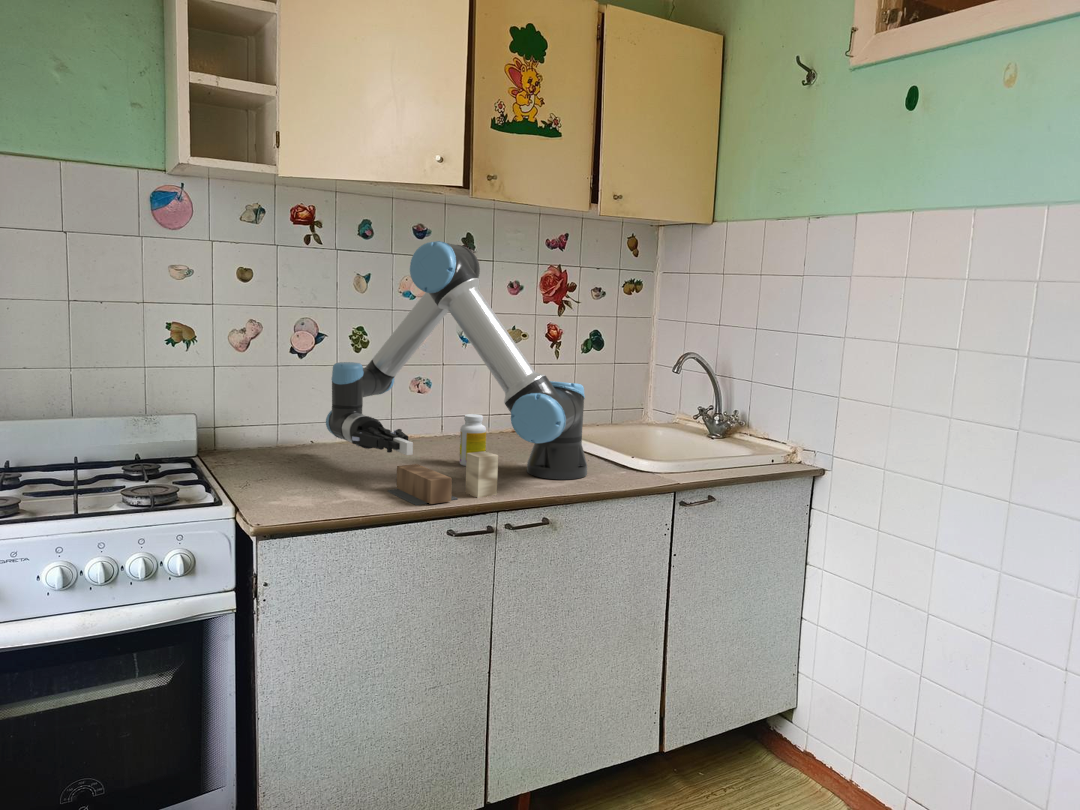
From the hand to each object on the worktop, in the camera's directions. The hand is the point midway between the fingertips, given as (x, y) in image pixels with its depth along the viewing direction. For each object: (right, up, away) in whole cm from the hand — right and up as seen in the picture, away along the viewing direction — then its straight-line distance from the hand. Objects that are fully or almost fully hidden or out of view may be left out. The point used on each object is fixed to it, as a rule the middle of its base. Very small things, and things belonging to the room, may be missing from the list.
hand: (409, 448), depth 173 cm
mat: (+3, -10, -2) cm, 11 cm away
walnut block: (-1, -6, +3) cm, 7 cm away
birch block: (+16, -10, +1) cm, 19 cm away
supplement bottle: (+11, -6, +30) cm, 32 cm away
